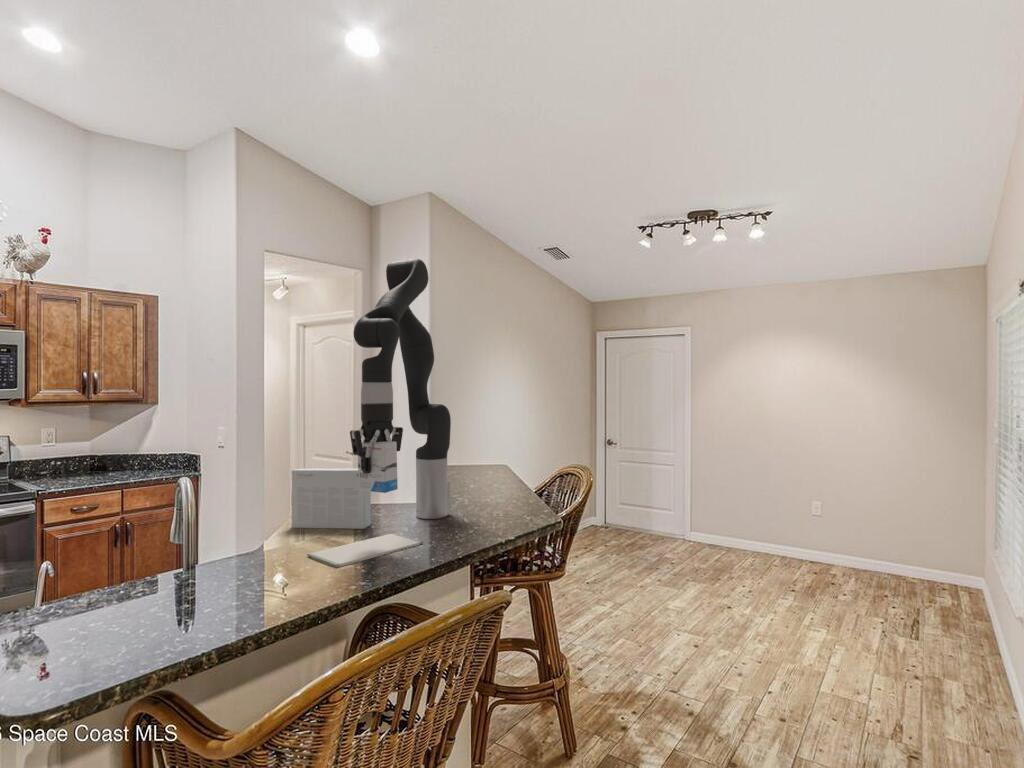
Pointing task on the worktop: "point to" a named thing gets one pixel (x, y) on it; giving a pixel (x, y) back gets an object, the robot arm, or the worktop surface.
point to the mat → (364, 549)
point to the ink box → (380, 468)
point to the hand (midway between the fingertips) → (377, 471)
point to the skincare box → (329, 499)
